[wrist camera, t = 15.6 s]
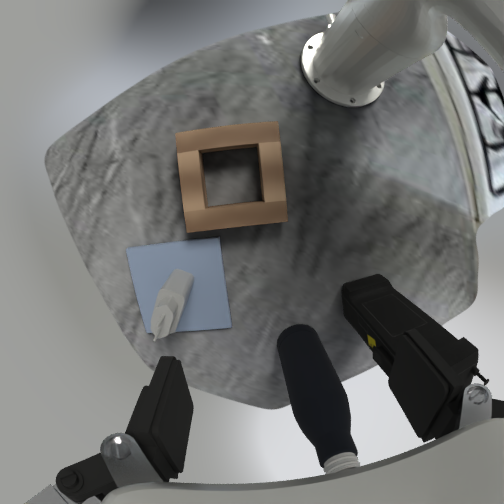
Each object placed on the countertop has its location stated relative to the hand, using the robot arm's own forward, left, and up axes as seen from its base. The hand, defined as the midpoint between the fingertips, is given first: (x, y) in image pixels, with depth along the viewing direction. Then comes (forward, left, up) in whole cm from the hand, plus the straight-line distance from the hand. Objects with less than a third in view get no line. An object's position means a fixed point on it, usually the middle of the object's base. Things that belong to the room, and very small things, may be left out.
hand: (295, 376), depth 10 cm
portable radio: (+10, +15, -27) cm, 33 cm away
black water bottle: (+16, +5, -27) cm, 32 cm away
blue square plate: (+5, -11, -27) cm, 30 cm away
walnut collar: (-9, -2, -27) cm, 28 cm away
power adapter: (+5, -11, -26) cm, 29 cm away
